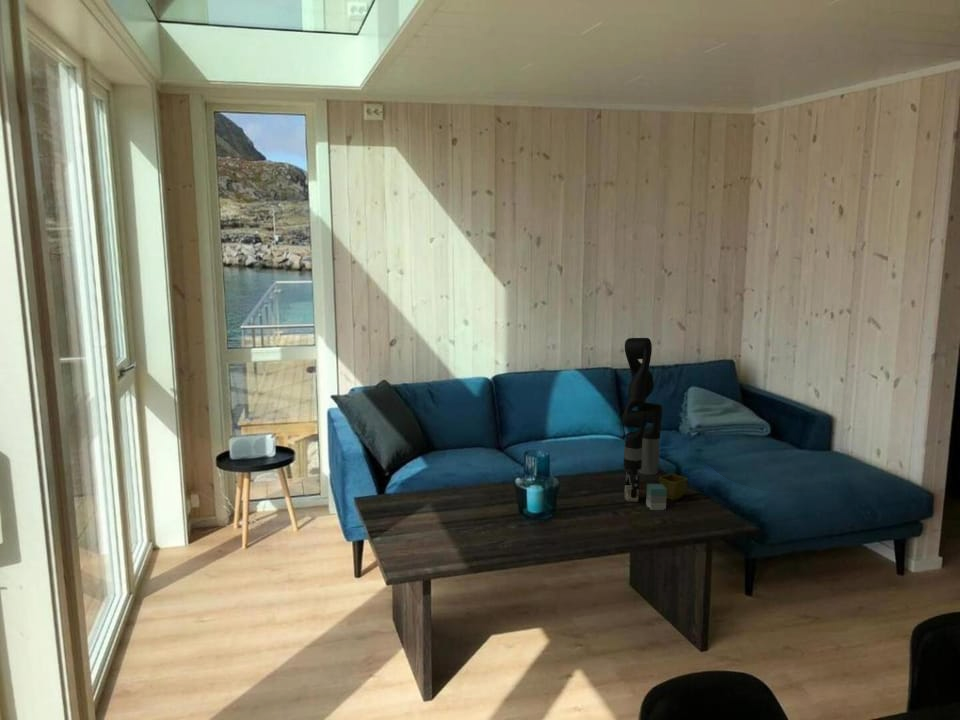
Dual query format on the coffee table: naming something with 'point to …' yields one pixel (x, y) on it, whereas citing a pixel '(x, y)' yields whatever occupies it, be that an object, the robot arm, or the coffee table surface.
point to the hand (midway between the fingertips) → (630, 494)
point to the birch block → (629, 493)
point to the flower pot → (674, 485)
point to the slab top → (656, 490)
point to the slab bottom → (655, 505)
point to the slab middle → (656, 499)
